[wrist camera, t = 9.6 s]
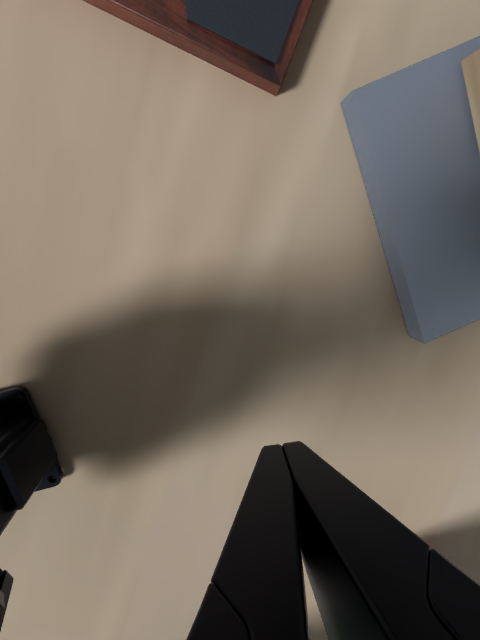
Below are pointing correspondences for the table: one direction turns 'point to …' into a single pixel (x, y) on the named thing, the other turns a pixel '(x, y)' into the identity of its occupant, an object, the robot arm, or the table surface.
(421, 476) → the table surface
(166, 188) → the table surface
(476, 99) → the wooden button block
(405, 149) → the key base
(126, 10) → the picture frame
